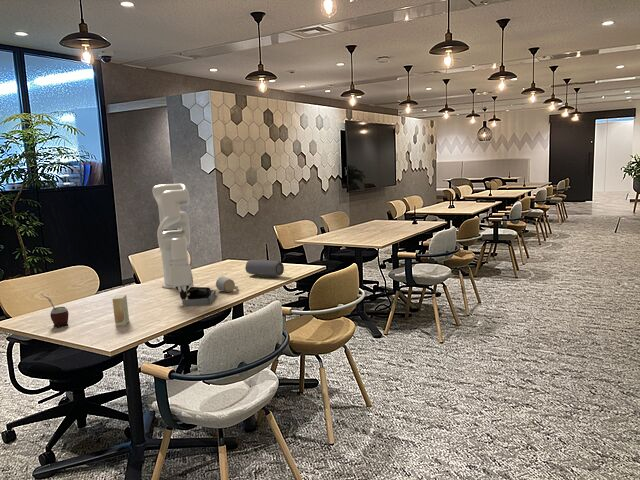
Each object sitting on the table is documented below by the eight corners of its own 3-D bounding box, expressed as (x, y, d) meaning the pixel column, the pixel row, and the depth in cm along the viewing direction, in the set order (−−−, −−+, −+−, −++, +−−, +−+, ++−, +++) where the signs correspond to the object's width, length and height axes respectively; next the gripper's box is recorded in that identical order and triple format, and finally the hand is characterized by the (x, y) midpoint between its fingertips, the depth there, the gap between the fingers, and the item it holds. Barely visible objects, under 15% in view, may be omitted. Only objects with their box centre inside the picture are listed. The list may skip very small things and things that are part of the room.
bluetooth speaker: (285, 276, 301) (284, 259, 300) (275, 279, 294) (274, 262, 292) (255, 273, 314) (254, 257, 312) (245, 276, 306) (244, 260, 305)
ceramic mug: (224, 293, 266) (223, 279, 265) (216, 291, 271) (215, 277, 270) (241, 290, 273) (240, 276, 272) (232, 288, 279) (232, 274, 278)
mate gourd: (72, 323, 227) (68, 290, 225) (64, 328, 219) (60, 294, 217) (55, 324, 227) (51, 291, 225) (46, 329, 219) (42, 295, 217)
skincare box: (119, 322, 224) (116, 295, 223) (129, 321, 225) (126, 294, 223) (115, 326, 218) (111, 298, 216) (125, 325, 218) (122, 297, 217)
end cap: (211, 299, 255) (210, 286, 255) (205, 303, 249) (205, 289, 248) (192, 298, 257) (192, 285, 256) (186, 302, 250) (186, 288, 249)
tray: (190, 297, 263) (190, 291, 262) (215, 295, 263) (215, 289, 263) (182, 306, 245) (182, 300, 244) (210, 304, 245) (209, 298, 245)
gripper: (162, 264, 247) (166, 301, 249) (193, 263, 247) (197, 300, 249) (167, 262, 254) (170, 298, 256) (197, 260, 254) (200, 296, 256)
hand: (183, 299), depth 253 cm, fingers closed
